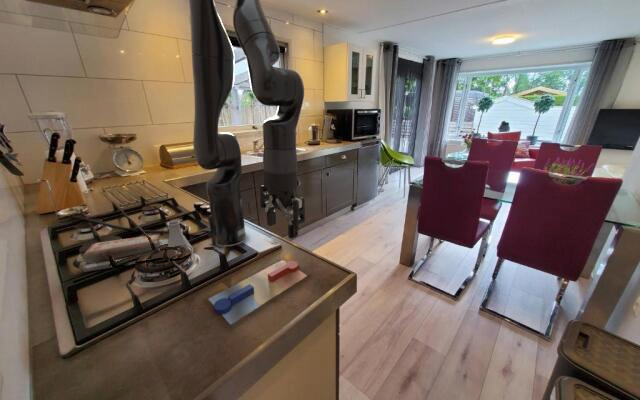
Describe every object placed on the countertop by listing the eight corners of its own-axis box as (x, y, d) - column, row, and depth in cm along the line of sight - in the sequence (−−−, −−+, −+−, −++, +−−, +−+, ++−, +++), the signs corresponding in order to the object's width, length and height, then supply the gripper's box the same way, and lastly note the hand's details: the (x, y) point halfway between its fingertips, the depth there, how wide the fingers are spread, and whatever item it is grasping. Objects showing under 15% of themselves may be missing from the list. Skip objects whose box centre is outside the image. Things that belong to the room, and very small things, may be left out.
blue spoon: (248, 288, 59) (247, 281, 58) (256, 295, 57) (256, 288, 56) (211, 308, 53) (210, 301, 52) (219, 317, 51) (218, 310, 50)
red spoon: (274, 284, 60) (273, 278, 59) (265, 278, 62) (265, 272, 61) (301, 268, 66) (301, 262, 65) (292, 263, 68) (292, 257, 67)
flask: (191, 244, 77) (185, 214, 74) (196, 255, 72) (190, 224, 68) (164, 251, 73) (156, 221, 70) (167, 263, 68) (159, 231, 64)
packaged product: (76, 257, 62) (93, 238, 70) (83, 274, 64) (98, 253, 72) (160, 244, 68) (166, 228, 77) (164, 259, 70) (169, 241, 78)
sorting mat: (230, 327, 49) (230, 324, 49) (208, 300, 56) (208, 298, 55) (307, 277, 64) (307, 275, 63) (282, 261, 70) (282, 259, 70)
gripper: (314, 171, 54) (312, 236, 60) (275, 159, 63) (276, 217, 69) (287, 177, 49) (288, 248, 55) (248, 163, 58) (253, 225, 64)
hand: (281, 230), depth 62 cm, fingers open, 8 cm apart
